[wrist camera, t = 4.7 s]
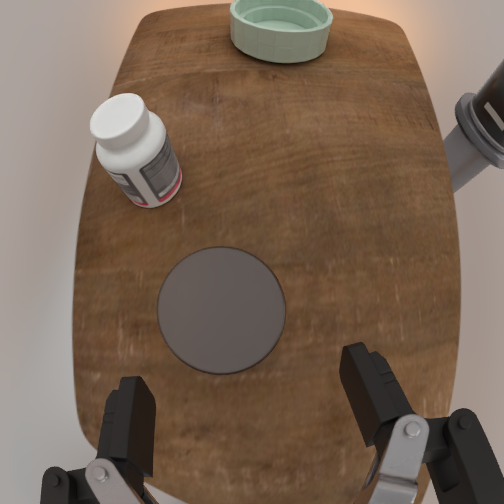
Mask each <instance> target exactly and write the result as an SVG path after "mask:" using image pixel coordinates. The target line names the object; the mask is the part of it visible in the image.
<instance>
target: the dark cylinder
mask: <svg viewBox="0 0 504 504" xmlns="http://www.w3.org/2000/svg"><path fill="white" fill-rule="evenodd" d="M157 320H158V326H159V329H160V332H161V335H162V337H163V339H164V341H165V343H166V344H167V346H168V348H169V349H170V350H171V351H172V353H173V354H174V355H175V356H176V357H177V358H178V359H179V360H181V361H182V362H183V363H185V364H186V365H188V366H190V367H191V368H193V369H195V370H198V371H201V372H204V373H208V374H214V375H230V374H236V373H239V372H243V371H245V370H248V369H250V368H252V367H254V366H255V365H257V364H259V363H260V362H261V361H262V360H264V359H265V358H266V357H267V356H268V355H269V354H270V353H271V352H272V350H273V349H274V347H275V346H276V345H277V343H278V341H279V339H280V337H281V335H282V332H283V329H284V325H285V320H286V302H285V297H284V293H283V290H282V287H281V285H280V283H279V281H278V279H277V277H276V276H275V274H274V273H273V271H272V270H271V269H270V268H269V267H268V266H267V265H266V264H265V263H264V262H263V261H262V260H260V259H259V258H257V257H256V256H254V255H253V254H251V253H249V252H247V251H244V250H241V249H238V248H233V247H226V246H216V247H209V248H204V249H201V250H198V251H196V252H193V253H191V254H189V255H188V256H186V257H185V258H183V259H182V260H181V261H179V262H178V263H177V264H176V265H175V266H174V267H173V268H172V269H171V271H170V272H169V273H168V275H167V276H166V278H165V280H164V282H163V283H162V286H161V289H160V291H159V295H158V300H157Z"/></svg>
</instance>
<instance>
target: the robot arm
mask: <svg viewBox="0 0 504 504" xmlns="http://www.w3.org/2000/svg"><path fill="white" fill-rule="evenodd" d="M468 108H469V112H470V115H471V117H472V119H473V121H474V123H475V125H476V126H477V128H478V129H479V131H480V132H481V133H482V135H483V136H484V137H485V138H486V139H487V141H488V142H489V143H490V144H491V145H493V146H494V147H495V148H496V149H497V150H499V151H501V152H502V153H504V59H503V61H502V62H501V63H500V65H499V66H498V67H497V69H496V70H495V71H494V72H493V74H492V75H491V76H490V78H489V79H488V80H487V81H486V83H485V84H484V85H483V87H482V88H481V89H480V90H479V91H478V93H477V94H476V95H475V96H474V97H473V98H472V99H471V100H470V101H469V105H468ZM339 373H340V379H341V382H342V385H343V387H344V390H345V392H346V395H347V397H348V400H349V403H350V405H351V408H352V410H353V413H354V415H355V418H356V421H357V423H358V426H359V428H360V431H361V434H362V436H363V439H364V442H365V444H366V447H369V446H372V445H375V447H376V450H377V452H376V455H375V457H374V460H373V462H372V465H371V467H370V470H369V472H368V475H367V477H366V480H365V482H364V484H363V486H362V489H361V491H360V492H359V494H358V496H357V497H356V499H355V501H354V503H353V504H413V502H414V500H415V497H416V494H417V490H418V484H417V482H416V479H417V476H418V472H419V469H420V466H421V463H426V465H427V468H428V471H429V474H430V477H431V480H432V483H433V486H434V489H435V492H436V495H437V498H438V501H439V504H504V477H503V475H502V472H501V470H500V468H499V465H498V462H497V460H496V458H495V455H494V453H493V450H492V448H491V446H490V444H489V442H488V439H487V437H486V435H485V433H484V431H483V428H482V426H481V424H480V422H479V420H478V418H477V416H476V415H475V413H474V412H472V411H471V410H469V409H465V408H462V409H458V410H456V411H454V412H453V413H452V414H451V416H450V417H442V418H434V419H427V418H423V417H421V416H419V415H417V414H416V413H415V412H414V411H413V410H412V408H411V406H410V404H409V402H408V400H407V398H406V396H405V394H404V392H403V391H402V389H401V387H400V385H399V383H398V381H397V380H396V377H395V375H394V374H393V372H392V371H391V368H390V366H389V364H388V362H387V361H386V359H385V358H384V357H382V356H381V355H380V354H379V353H378V352H376V351H375V352H372V353H369V352H368V350H367V348H366V346H365V345H364V343H363V342H359V343H355V344H351V345H347V346H344V347H343V350H342V356H341V362H340V368H339ZM104 412H105V414H104V416H103V423H102V427H101V433H100V439H99V445H98V452H97V456H96V459H95V460H93V461H91V462H90V463H89V464H88V466H87V467H86V468H83V469H77V470H72V471H67V472H66V471H65V470H63V469H62V468H60V467H50V468H49V469H47V470H46V471H45V473H44V475H43V479H42V489H41V501H40V504H159V503H158V502H157V501H156V500H155V499H154V497H153V496H152V495H151V494H150V492H149V491H148V490H147V488H146V487H145V486H144V485H143V484H144V477H152V478H153V449H154V431H155V416H156V403H155V399H154V396H153V395H152V393H151V391H150V390H149V388H148V387H147V385H146V384H145V382H144V380H143V379H142V377H140V376H133V377H122V378H121V381H120V385H119V390H113V391H112V392H111V394H110V395H109V397H108V399H107V400H106V405H105V410H104Z"/></svg>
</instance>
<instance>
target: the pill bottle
mask: <svg viewBox="0 0 504 504" xmlns="http://www.w3.org/2000/svg"><path fill="white" fill-rule="evenodd" d="M90 131H91V133H92V135H93V136H94V138H95V139H96V141H97V145H96V153H97V157H98V160H99V162H100V163H101V165H102V166H103V167H104V168H105V170H106V171H107V172H108V173H109V175H110V176H111V177H112V178H113V179H114V181H115V182H116V183H117V184H118V186H119V187H120V188H121V189H122V190H123V192H124V193H125V194H126V195H127V196H128V198H129V199H130V200H131V201H132V202H133V203H135V204H136V205H138V206H141V207H145V208H153V207H157V206H160V205H162V204H164V203H166V202H168V201H169V200H170V199H171V198H172V197H173V196H174V195H175V194H176V193H177V191H178V189H179V188H180V185H181V181H182V172H181V169H180V166H179V163H178V160H177V158H176V155H175V153H174V150H173V148H172V145H171V143H170V140H169V137H168V135H167V132H166V129H165V126H164V124H163V123H162V121H161V119H160V118H159V117H158V116H157V115H156V114H154V113H152V112H150V111H148V109H147V108H146V106H145V104H144V102H143V100H142V99H141V98H140V97H139V96H138V95H136V94H132V93H125V94H119V95H116V96H114V97H112V98H110V99H108V100H106V101H105V102H104V103H102V104H101V105H100V106H99V107H98V108H97V110H96V111H95V112H94V114H93V116H92V118H91V121H90Z"/></svg>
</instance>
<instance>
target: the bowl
mask: <svg viewBox="0 0 504 504" xmlns="http://www.w3.org/2000/svg"><path fill="white" fill-rule="evenodd" d="M332 22H333V16H332V13H331V11H330V10H329V9H328V8H327V7H326V6H325V5H323V4H322V3H320V2H318V1H317V0H235V1H234V2H233V3H232V4H231V6H230V24H231V25H230V27H231V39H232V41H233V43H234V45H235V46H236V47H237V48H238V49H240V50H241V51H242V52H244V53H246V54H248V55H251V56H253V57H255V58H258V59H261V60H265V61H269V62H275V63H296V62H303V61H308V60H311V59H314V58H317V57H318V56H319V55H320V54H322V53H323V52H324V51H325V48H326V45H327V42H328V38H329V34H330V30H331V26H332Z"/></svg>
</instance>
